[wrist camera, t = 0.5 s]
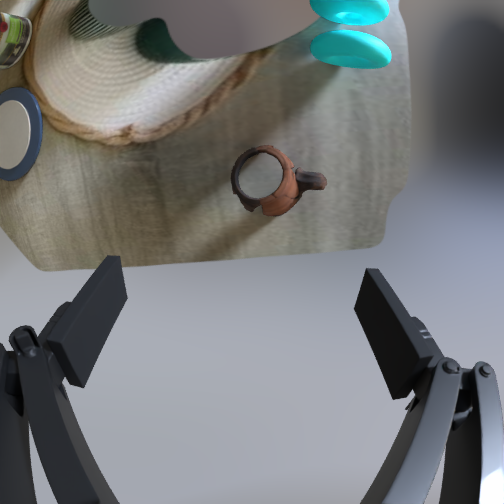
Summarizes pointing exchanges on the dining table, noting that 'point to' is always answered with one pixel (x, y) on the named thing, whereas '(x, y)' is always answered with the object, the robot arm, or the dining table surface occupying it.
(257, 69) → the dining table surface
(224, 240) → the dining table surface
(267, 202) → the brown jagged ring piece
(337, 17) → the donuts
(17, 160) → the plate
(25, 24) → the coffee can
